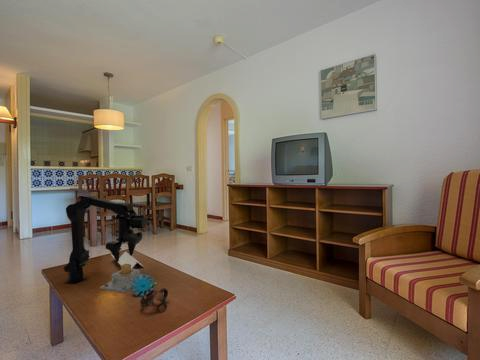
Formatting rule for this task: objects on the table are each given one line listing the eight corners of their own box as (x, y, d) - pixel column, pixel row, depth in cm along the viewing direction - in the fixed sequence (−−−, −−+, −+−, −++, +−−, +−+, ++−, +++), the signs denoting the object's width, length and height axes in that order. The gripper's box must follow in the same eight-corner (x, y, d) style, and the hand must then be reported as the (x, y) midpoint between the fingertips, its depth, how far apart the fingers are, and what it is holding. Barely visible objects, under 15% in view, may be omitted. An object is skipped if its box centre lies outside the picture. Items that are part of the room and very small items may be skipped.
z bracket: (125, 264, 158) (132, 256, 161) (137, 277, 139) (145, 267, 142) (110, 254, 153) (118, 246, 156) (121, 265, 134) (129, 256, 136)
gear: (129, 296, 105) (132, 273, 112) (128, 301, 108) (131, 279, 115) (156, 294, 109) (157, 273, 116) (154, 299, 113) (155, 278, 120)
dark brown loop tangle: (158, 318, 92) (146, 300, 92) (143, 322, 96) (132, 305, 96) (177, 296, 103) (167, 280, 102) (163, 301, 107) (153, 285, 107)
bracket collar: (100, 289, 115) (99, 277, 115) (127, 274, 132) (127, 264, 132) (124, 292, 111) (124, 281, 111) (149, 277, 128) (149, 266, 128)
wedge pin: (121, 281, 120) (120, 265, 120) (125, 279, 123) (125, 263, 123) (126, 282, 120) (126, 266, 119) (131, 279, 123) (130, 264, 123)
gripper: (123, 233, 112) (123, 266, 112) (149, 225, 130) (149, 254, 130) (104, 231, 115) (104, 264, 115) (132, 224, 133) (132, 252, 133)
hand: (124, 258), depth 123 cm, fingers open, 9 cm apart
